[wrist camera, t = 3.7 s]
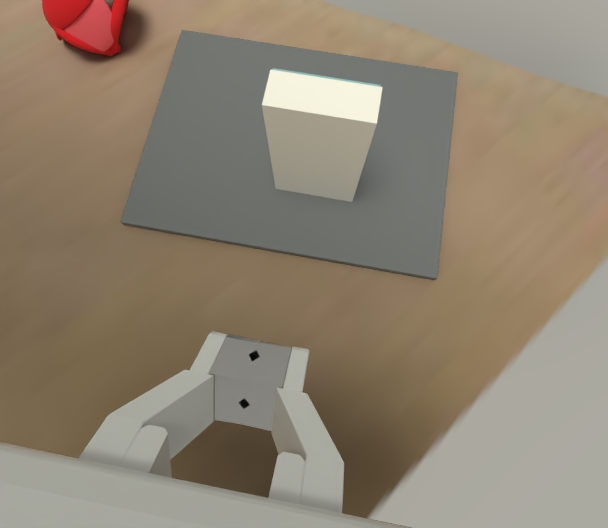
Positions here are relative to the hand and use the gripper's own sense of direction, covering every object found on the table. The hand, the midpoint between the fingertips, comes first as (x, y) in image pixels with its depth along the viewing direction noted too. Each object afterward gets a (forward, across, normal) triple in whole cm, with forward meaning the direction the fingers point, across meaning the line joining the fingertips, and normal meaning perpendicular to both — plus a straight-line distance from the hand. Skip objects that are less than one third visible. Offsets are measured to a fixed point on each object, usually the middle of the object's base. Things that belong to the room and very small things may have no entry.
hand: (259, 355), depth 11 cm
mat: (+23, +2, 0) cm, 23 cm away
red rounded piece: (+28, +21, -6) cm, 36 cm away
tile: (+20, 0, +1) cm, 20 cm away
